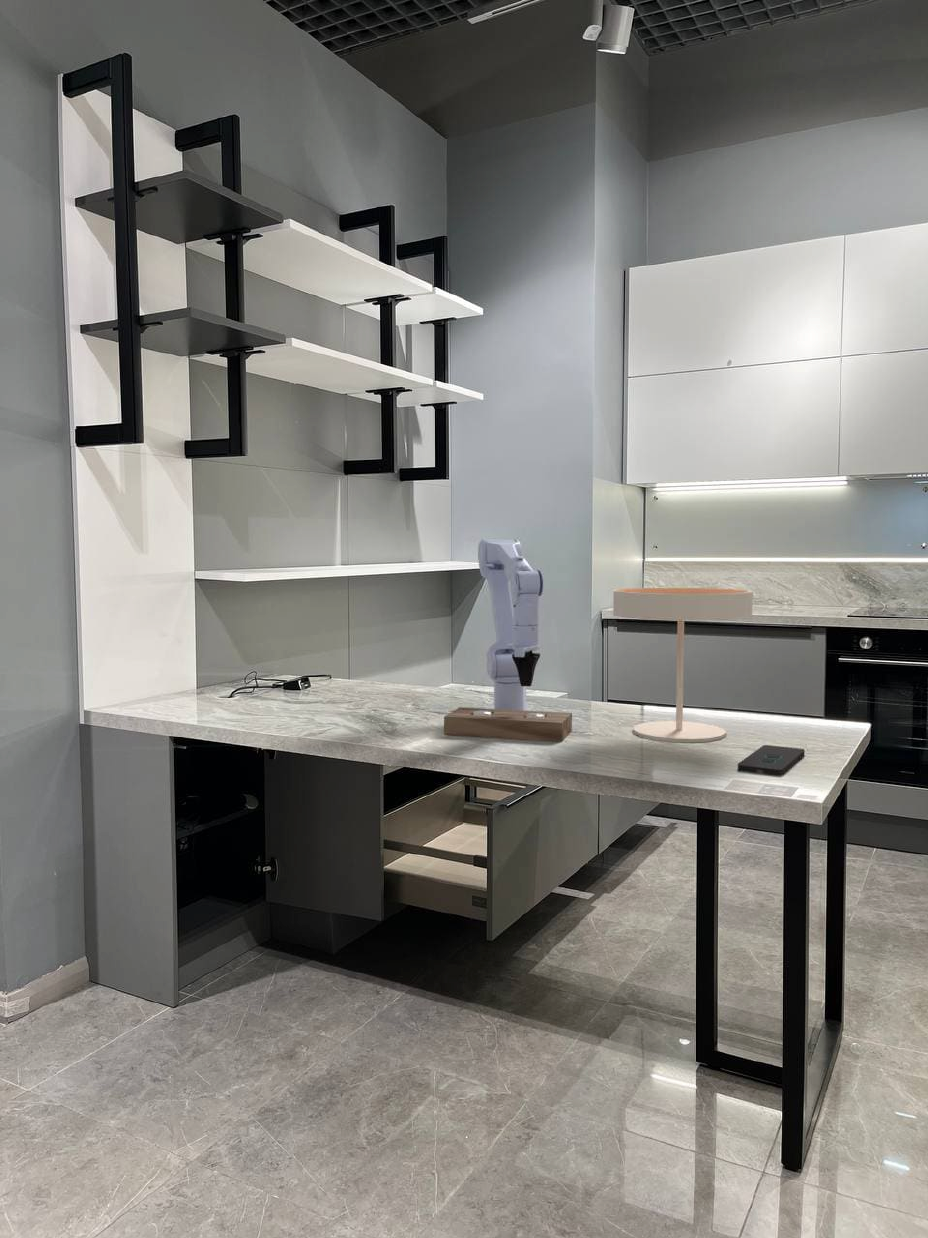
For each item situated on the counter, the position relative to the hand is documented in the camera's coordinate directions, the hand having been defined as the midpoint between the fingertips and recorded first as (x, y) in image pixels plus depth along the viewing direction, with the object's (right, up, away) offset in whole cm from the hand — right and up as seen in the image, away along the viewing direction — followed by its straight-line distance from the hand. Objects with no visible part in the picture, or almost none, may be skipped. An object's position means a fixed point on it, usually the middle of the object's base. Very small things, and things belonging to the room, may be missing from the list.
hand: (526, 686), depth 209 cm
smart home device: (+45, -13, -31) cm, 56 cm away
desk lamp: (+33, -10, -3) cm, 35 cm away
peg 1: (-10, -10, -1) cm, 14 cm away
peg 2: (+2, -10, -4) cm, 11 cm away
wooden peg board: (-4, -10, -2) cm, 11 cm away
